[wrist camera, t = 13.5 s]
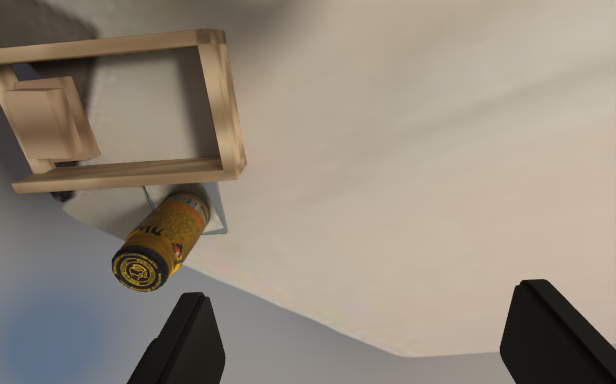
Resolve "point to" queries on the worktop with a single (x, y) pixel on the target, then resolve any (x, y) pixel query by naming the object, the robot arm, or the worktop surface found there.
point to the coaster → (216, 201)
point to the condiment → (165, 235)
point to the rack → (149, 171)
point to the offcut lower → (77, 112)
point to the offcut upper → (44, 122)
